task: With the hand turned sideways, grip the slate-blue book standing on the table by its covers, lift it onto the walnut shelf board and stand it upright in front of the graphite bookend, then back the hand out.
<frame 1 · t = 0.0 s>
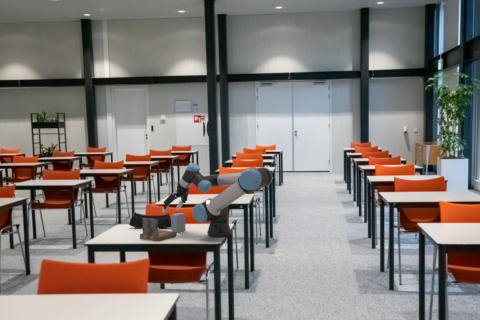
hand: (170, 210, 336), 15 cm above the table, tool tilted 35°, fingers open, 13 cm apart
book: (178, 232, 343), on the table
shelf: (158, 237, 327), on the table
magazine: (151, 229, 359), on the table
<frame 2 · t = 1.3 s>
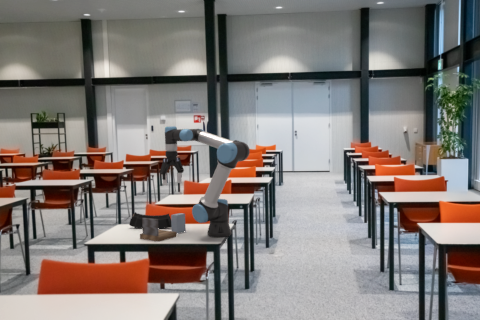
hand: (172, 183, 334), 33 cm above the table, tool pointing down, fingers open, 13 cm apart
nothing on the table moved.
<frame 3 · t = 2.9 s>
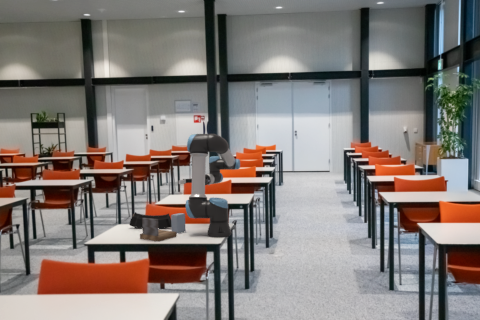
hand: (186, 182, 349), 32 cm above the table, tool horizontal, fingers open, 13 cm apart
nothing on the table moved.
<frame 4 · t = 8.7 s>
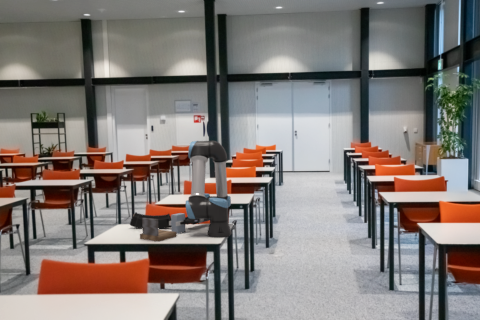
hand: (172, 223, 338), 7 cm above the table, tool horizontal, fingers closed on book, 5 cm apart
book: (178, 232, 343), on the table, touching gripper
everything else where it was.
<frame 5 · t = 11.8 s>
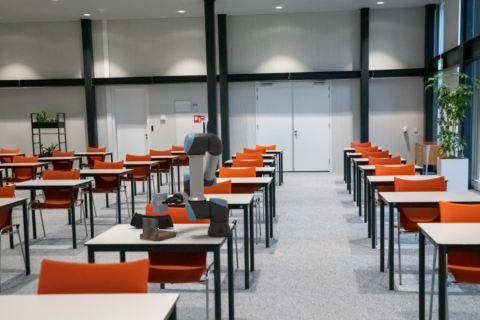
hand: (154, 203, 325), 22 cm above the table, tool horizontal, fingers closed on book, 5 cm apart
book: (160, 212, 330), point 15 cm above the table, touching gripper
everything else where it was.
when the fingers open (11 cm above the table, at t = 14.9 s): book drops 1 cm, resting on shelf.
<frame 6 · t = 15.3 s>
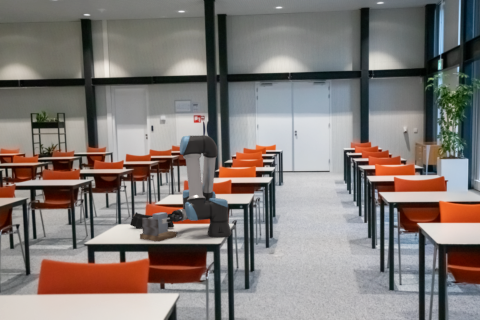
hand: (155, 220, 325), 11 cm above the table, tool horizontal, fingers open, 11 cm apart
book: (160, 232, 329), point 3 cm above the table, touching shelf
everything else where it was.
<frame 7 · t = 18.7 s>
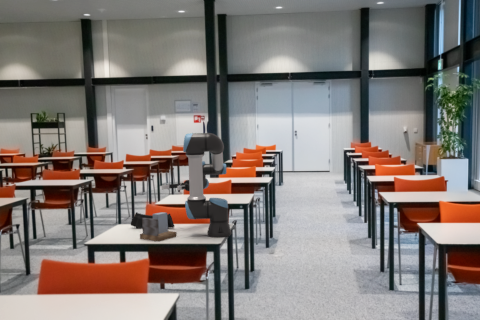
hand: (169, 187, 336), 30 cm above the table, tool horizontal, fingers open, 13 cm apart
nothing on the table moved.
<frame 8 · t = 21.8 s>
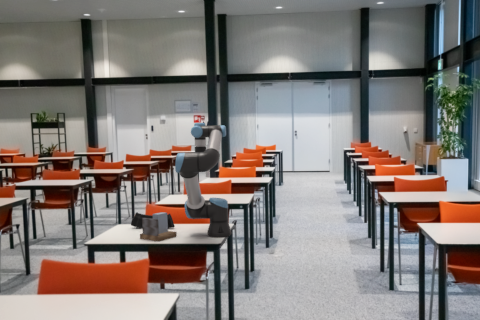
hand: (201, 178, 347), 35 cm above the table, tool pointing down, fingers open, 13 cm apart
at the end: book inside the target area (0.6 cm from its centre), point 3.0 cm above the table; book tilted 0°; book moved 17.2 cm from its start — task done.
